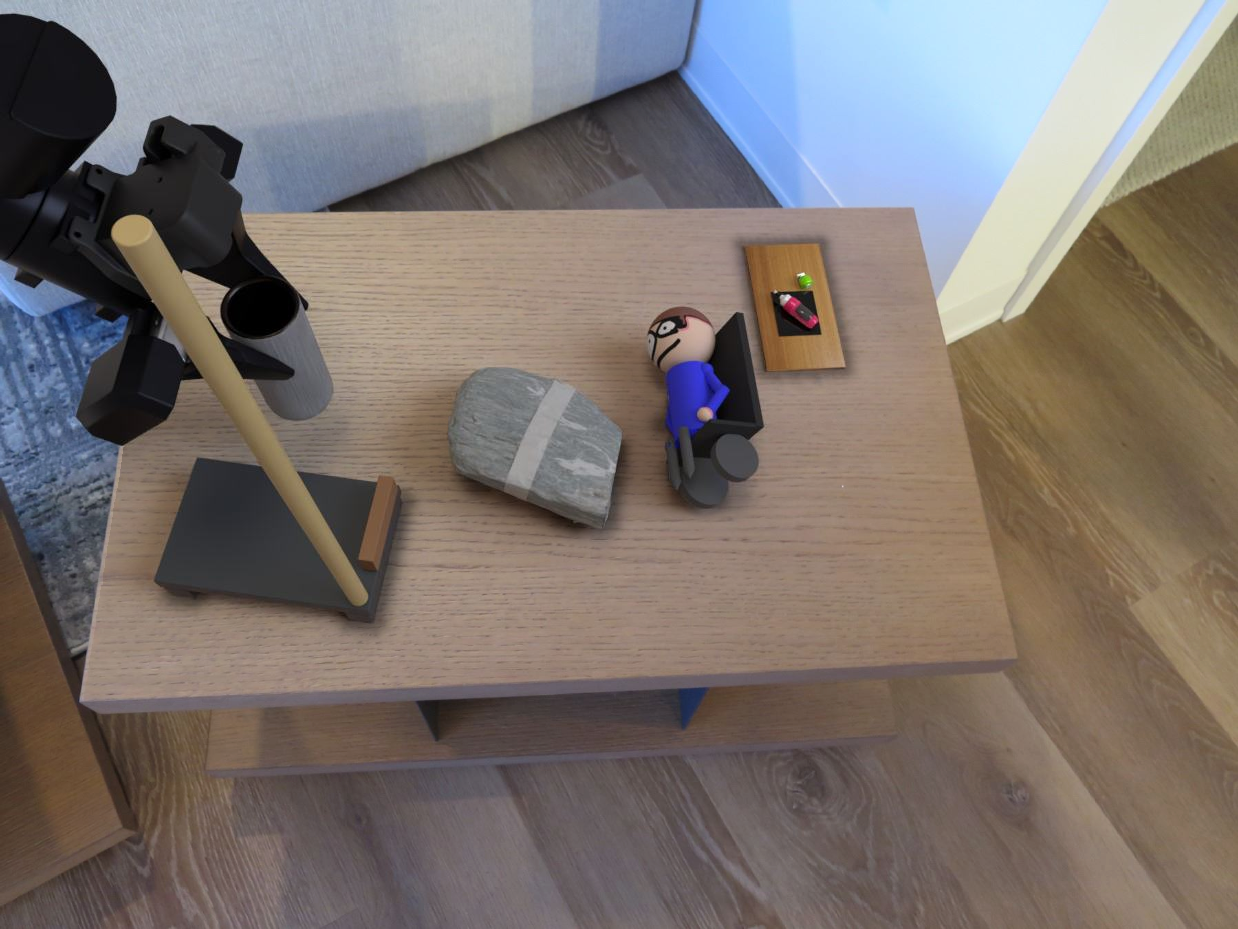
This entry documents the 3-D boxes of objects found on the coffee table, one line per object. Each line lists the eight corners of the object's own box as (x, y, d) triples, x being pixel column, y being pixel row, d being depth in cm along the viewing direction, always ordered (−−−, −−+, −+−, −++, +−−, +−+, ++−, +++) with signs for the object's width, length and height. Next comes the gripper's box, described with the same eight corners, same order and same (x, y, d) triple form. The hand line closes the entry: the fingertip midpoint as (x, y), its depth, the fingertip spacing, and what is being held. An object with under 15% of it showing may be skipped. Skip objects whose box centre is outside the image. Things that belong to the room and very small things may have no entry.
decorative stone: (430, 486, 69) (420, 450, 63) (483, 372, 73) (477, 329, 68) (602, 544, 68) (606, 511, 62) (645, 424, 72) (652, 384, 67)
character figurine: (661, 520, 69) (643, 344, 75) (761, 512, 69) (734, 337, 76) (664, 475, 62) (644, 285, 68) (775, 466, 62) (745, 277, 69)
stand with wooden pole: (169, 595, 64) (-324, 188, 28) (210, 474, 68) (-177, -20, 32) (376, 623, 64) (149, 254, 28) (405, 501, 68) (238, 39, 32)
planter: (348, 384, 65) (316, 297, 56) (304, 433, 64) (264, 352, 54) (295, 352, 66) (255, 261, 57) (251, 400, 64) (202, 314, 55)
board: (818, 245, 80) (822, 233, 79) (844, 368, 75) (850, 358, 74) (745, 247, 80) (748, 235, 78) (767, 371, 75) (770, 361, 73)
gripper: (36, 308, 40) (352, 442, 50) (145, -5, 48) (398, 168, 58) (-54, 389, 46) (242, 492, 57) (55, 103, 54) (297, 240, 65)
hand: (298, 342), depth 59 cm, fingers closed on planter, 4 cm apart
